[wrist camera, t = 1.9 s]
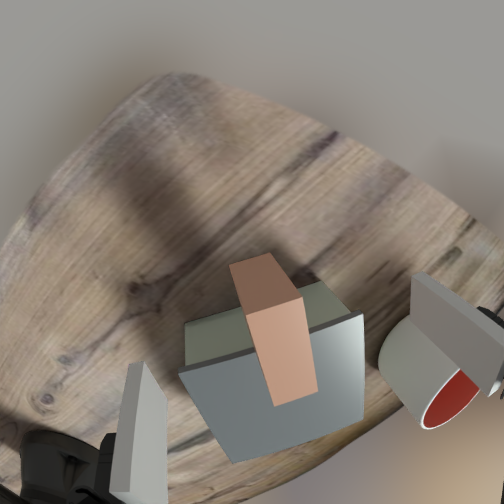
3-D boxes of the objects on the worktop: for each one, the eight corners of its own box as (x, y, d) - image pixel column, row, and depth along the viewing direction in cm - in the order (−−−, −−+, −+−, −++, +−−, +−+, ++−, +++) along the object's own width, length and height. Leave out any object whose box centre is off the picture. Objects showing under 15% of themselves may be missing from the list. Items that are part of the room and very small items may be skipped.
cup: (363, 339, 29) (416, 403, 20) (434, 286, 29) (496, 331, 20) (382, 387, 33) (423, 441, 24) (442, 341, 33) (489, 384, 24)
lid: (230, 452, 24) (241, 505, 18) (143, 284, 17) (126, 348, 11) (357, 409, 25) (385, 455, 20) (345, 224, 18) (405, 259, 13)
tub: (225, 411, 29) (234, 455, 23) (184, 323, 24) (185, 370, 19) (333, 375, 30) (356, 414, 24) (321, 280, 26) (354, 316, 20)
